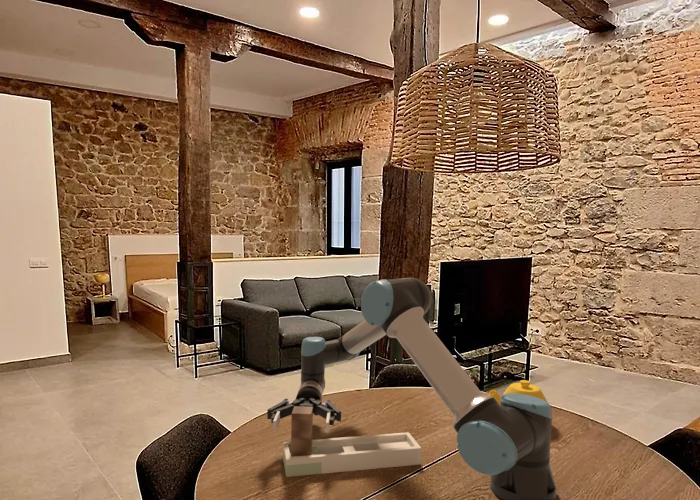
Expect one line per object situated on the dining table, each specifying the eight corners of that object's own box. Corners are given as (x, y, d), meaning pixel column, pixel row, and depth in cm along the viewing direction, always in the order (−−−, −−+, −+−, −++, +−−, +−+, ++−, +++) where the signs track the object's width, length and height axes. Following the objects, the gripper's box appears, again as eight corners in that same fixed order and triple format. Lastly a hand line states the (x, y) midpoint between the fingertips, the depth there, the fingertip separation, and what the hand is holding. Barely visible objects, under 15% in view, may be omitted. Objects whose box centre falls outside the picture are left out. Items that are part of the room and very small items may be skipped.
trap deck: (408, 447, 140) (408, 432, 140) (420, 464, 131) (421, 448, 130) (282, 458, 133) (283, 442, 132) (286, 476, 123) (286, 459, 123)
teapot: (498, 433, 151) (499, 389, 151) (478, 413, 167) (480, 374, 166) (558, 431, 154) (560, 388, 153) (534, 412, 169) (535, 373, 169)
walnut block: (312, 450, 131) (312, 406, 130) (310, 459, 126) (310, 413, 125) (293, 449, 131) (294, 406, 130) (290, 458, 126) (291, 413, 125)
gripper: (350, 410, 147) (348, 442, 125) (267, 408, 147) (252, 439, 126) (351, 386, 146) (349, 414, 125) (268, 384, 147) (252, 411, 125)
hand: (300, 427), depth 125 cm, fingers open, 13 cm apart
